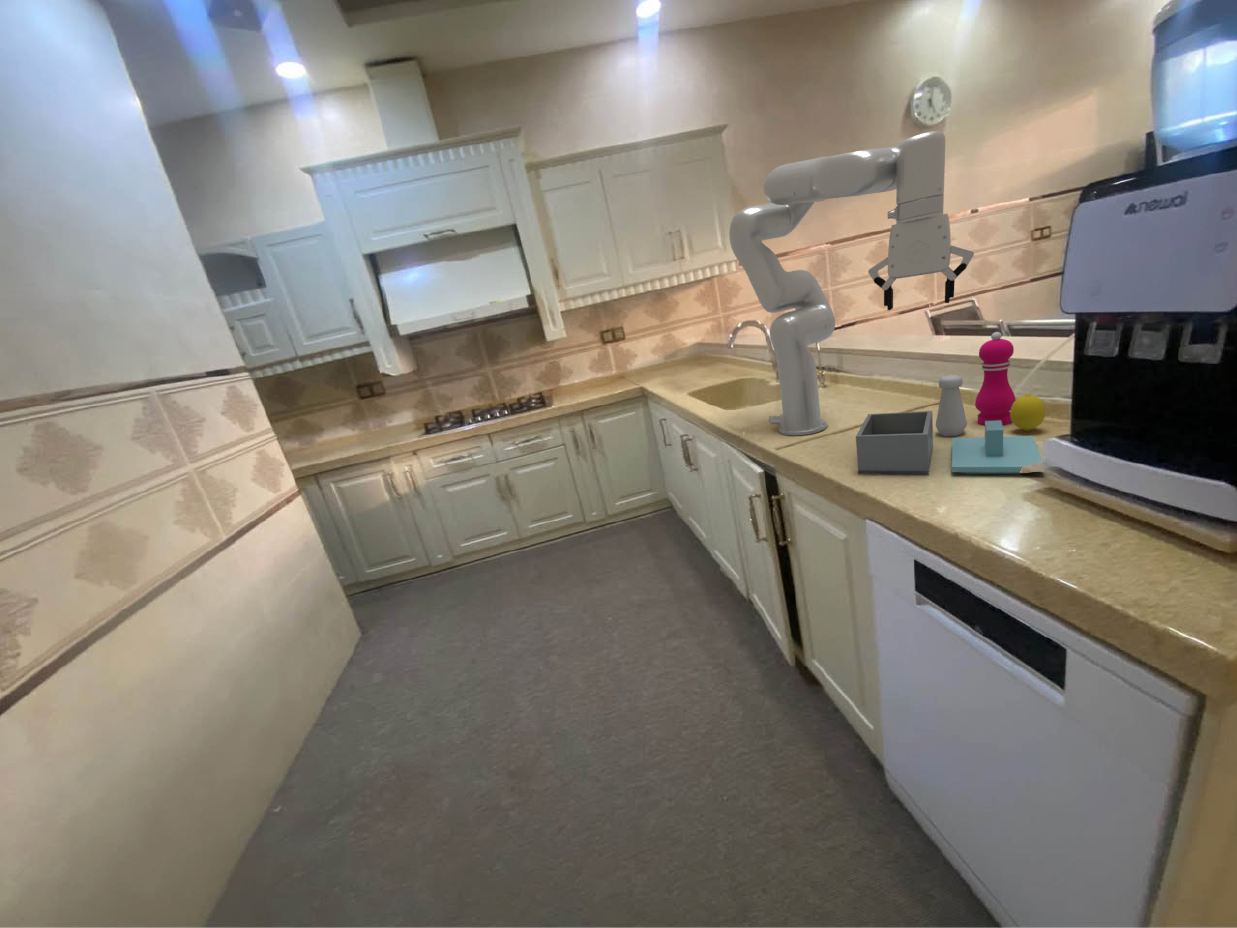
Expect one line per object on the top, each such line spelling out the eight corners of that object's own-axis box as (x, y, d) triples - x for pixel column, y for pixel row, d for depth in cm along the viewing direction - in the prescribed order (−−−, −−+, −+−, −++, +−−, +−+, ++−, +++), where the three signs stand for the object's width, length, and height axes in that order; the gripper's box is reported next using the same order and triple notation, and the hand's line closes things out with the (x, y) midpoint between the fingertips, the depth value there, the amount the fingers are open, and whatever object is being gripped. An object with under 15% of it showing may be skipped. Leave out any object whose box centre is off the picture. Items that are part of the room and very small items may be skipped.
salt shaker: (962, 428, 111) (962, 371, 107) (970, 435, 106) (971, 376, 102) (932, 431, 113) (931, 375, 109) (939, 438, 108) (938, 380, 104)
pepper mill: (1001, 415, 113) (1003, 327, 108) (1023, 422, 107) (1026, 329, 101) (968, 420, 115) (968, 334, 109) (987, 428, 108) (988, 336, 102)
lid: (951, 478, 89) (951, 440, 87) (952, 448, 102) (952, 415, 100) (1044, 479, 82) (1046, 438, 80) (1032, 446, 95) (1033, 410, 93)
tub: (858, 474, 99) (855, 436, 96) (870, 448, 111) (868, 414, 109) (928, 474, 92) (927, 434, 90) (933, 447, 104) (932, 410, 102)
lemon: (1039, 426, 103) (1041, 389, 100) (1048, 434, 98) (1050, 395, 96) (1006, 428, 105) (1007, 392, 103) (1013, 436, 100) (1014, 398, 98)
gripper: (864, 222, 93) (866, 314, 99) (977, 198, 83) (971, 301, 89) (870, 222, 99) (872, 309, 105) (976, 199, 89) (971, 297, 95)
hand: (917, 306), depth 97 cm, fingers open, 9 cm apart
